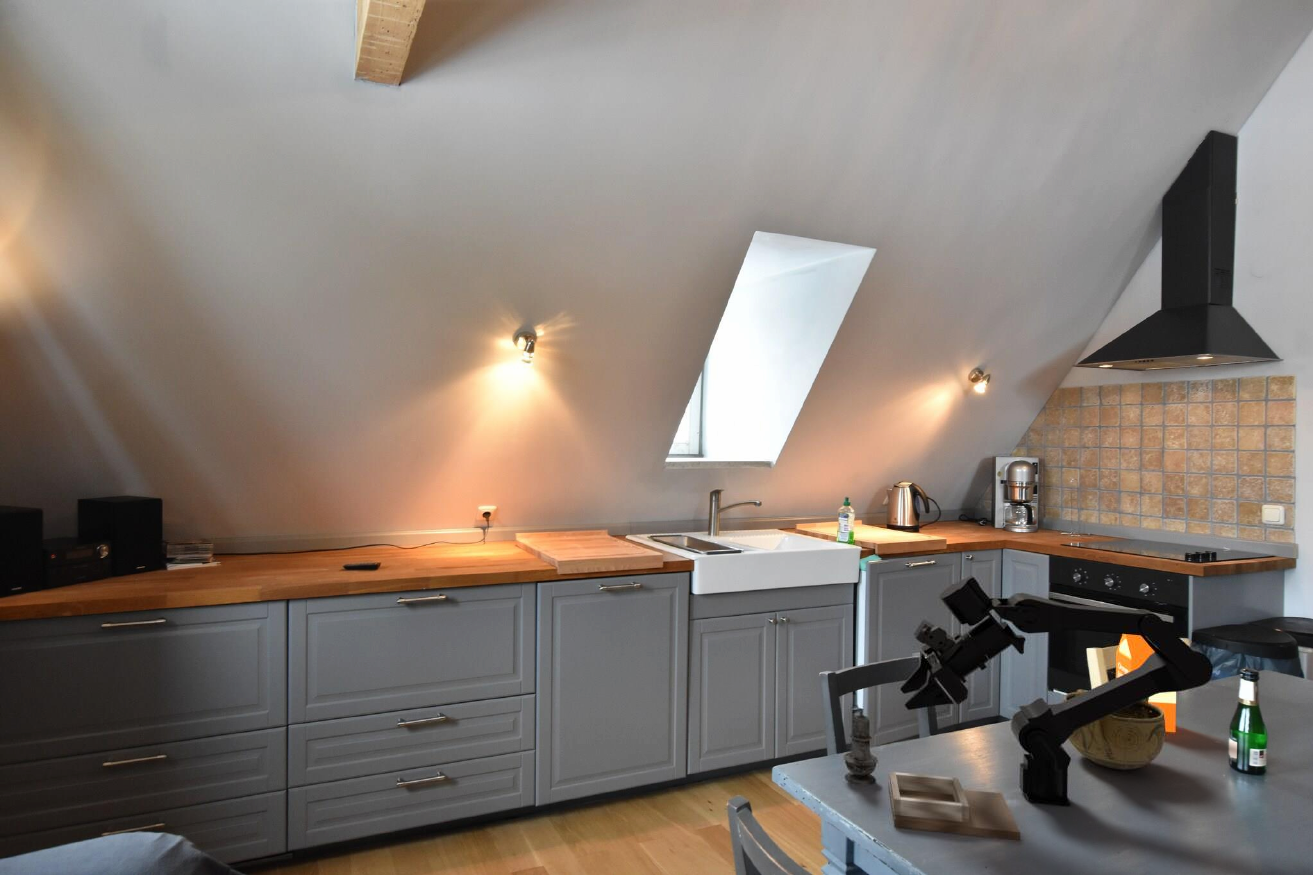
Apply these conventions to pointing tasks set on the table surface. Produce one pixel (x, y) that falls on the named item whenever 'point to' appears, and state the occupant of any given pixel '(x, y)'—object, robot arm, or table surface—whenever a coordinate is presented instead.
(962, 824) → the board
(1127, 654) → the orange juice
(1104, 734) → the ceramic bowl
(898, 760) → the table surface
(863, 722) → the salt shaker
